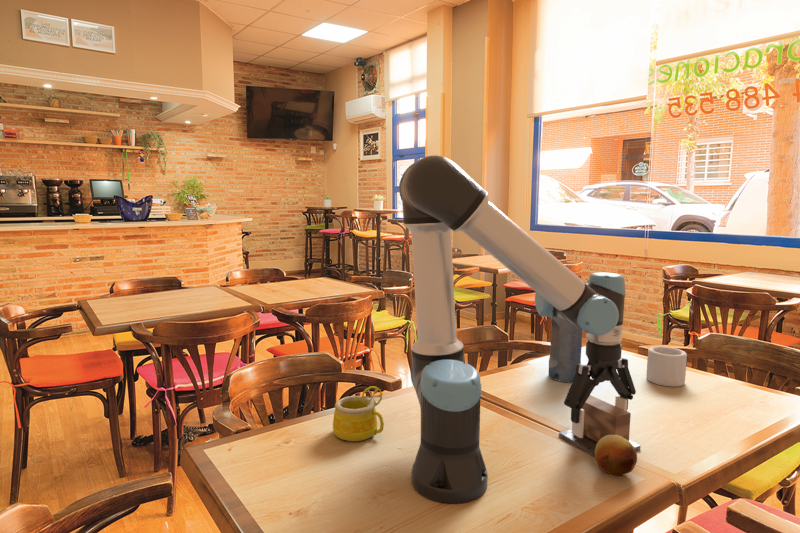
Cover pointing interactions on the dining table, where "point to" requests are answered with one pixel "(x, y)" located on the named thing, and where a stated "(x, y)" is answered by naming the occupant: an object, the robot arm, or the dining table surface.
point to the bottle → (564, 349)
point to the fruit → (615, 455)
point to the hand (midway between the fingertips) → (599, 429)
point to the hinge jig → (586, 442)
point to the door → (604, 419)
